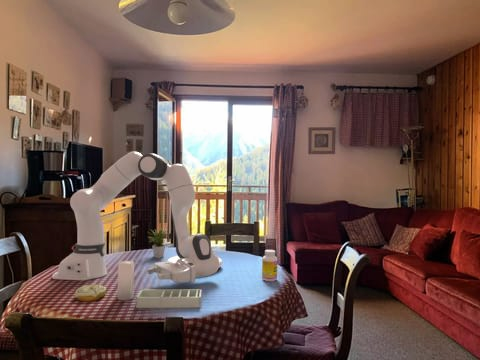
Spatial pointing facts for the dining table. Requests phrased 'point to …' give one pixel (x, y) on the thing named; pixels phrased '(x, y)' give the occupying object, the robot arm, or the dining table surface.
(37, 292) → the dining table surface
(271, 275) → the supplement bottle
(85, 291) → the decorated donut
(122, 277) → the beige tall cylinder
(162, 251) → the house plant
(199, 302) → the rack
